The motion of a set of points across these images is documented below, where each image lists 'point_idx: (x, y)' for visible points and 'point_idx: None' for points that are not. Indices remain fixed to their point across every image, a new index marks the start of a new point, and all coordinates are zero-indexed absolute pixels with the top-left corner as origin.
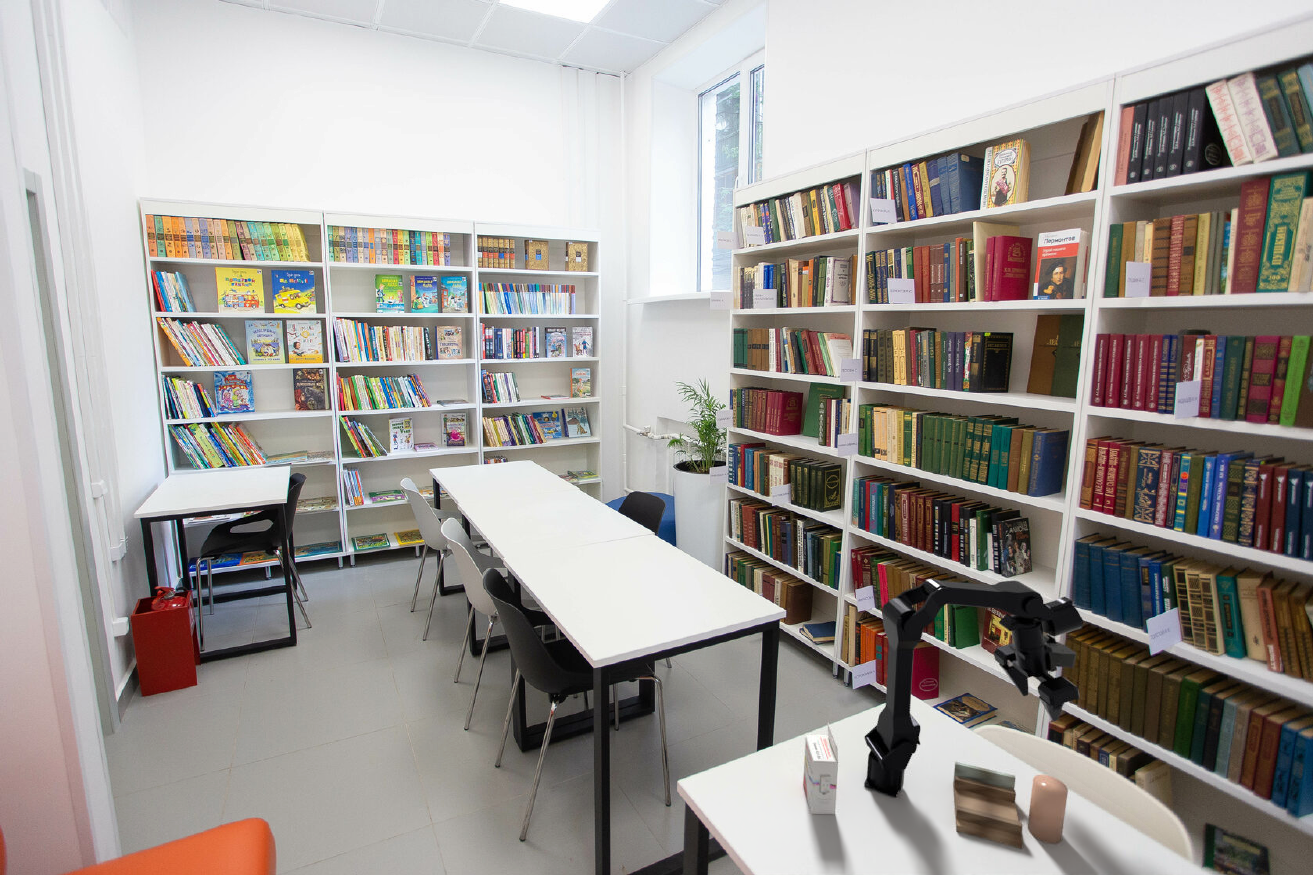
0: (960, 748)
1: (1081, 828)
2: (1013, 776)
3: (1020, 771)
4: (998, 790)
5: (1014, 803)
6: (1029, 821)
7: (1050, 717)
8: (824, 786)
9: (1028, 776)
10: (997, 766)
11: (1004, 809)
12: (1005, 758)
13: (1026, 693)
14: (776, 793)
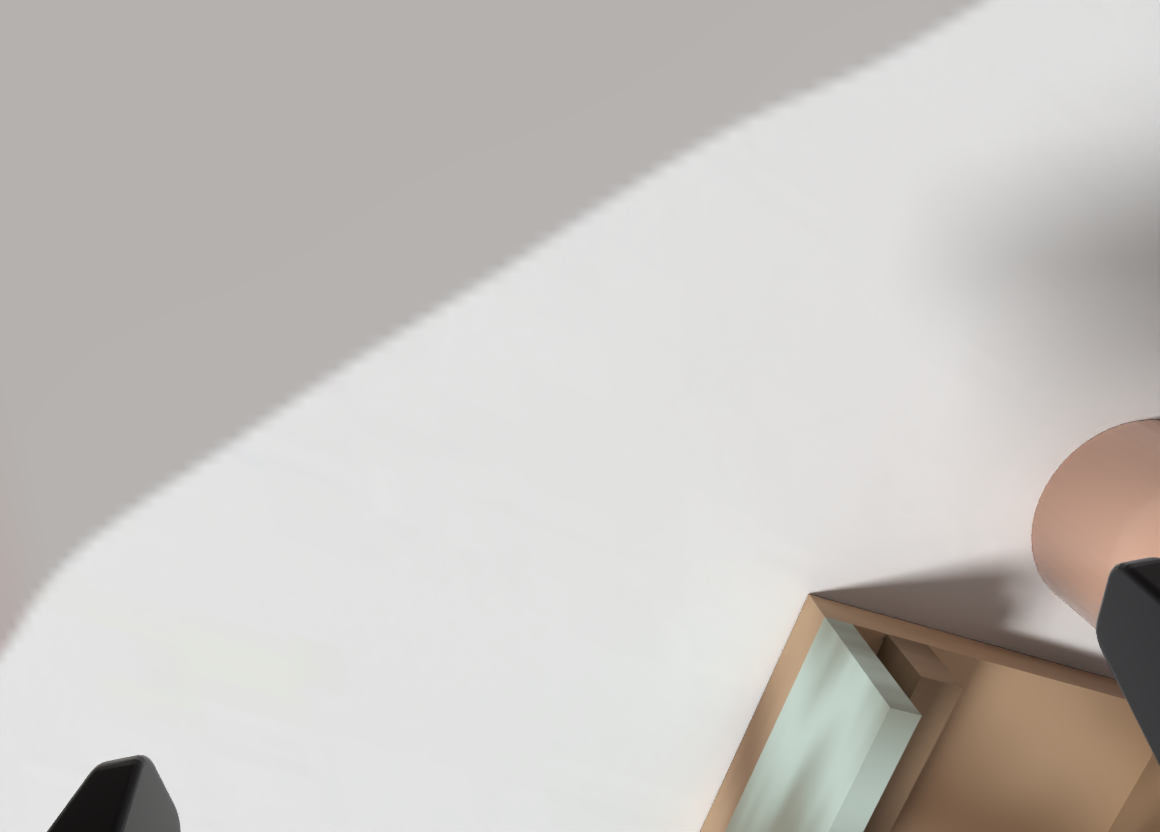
0: (195, 765)
1: (1132, 231)
2: (900, 723)
3: (472, 386)
4: (908, 788)
5: (929, 647)
6: None
7: (1152, 729)
8: None
9: (538, 347)
10: (420, 554)
11: (982, 736)
12: (289, 440)
13: (153, 820)
14: None
